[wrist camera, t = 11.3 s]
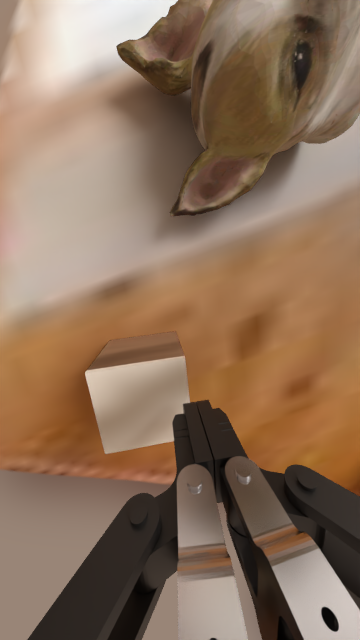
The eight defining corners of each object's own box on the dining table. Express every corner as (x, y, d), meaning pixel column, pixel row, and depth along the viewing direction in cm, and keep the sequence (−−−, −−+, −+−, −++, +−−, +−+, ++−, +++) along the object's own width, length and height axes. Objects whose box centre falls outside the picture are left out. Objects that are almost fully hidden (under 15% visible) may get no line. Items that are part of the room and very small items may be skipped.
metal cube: (185, 357, 11) (175, 330, 17) (84, 372, 11) (110, 339, 17) (193, 437, 13) (182, 387, 19) (105, 454, 12) (121, 397, 18)
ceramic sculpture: (537, 55, 7) (177, 187, 8) (339, 174, 16) (173, 234, 16) (591, -465, 5) (49, -234, 5) (321, 9, 13) (123, 85, 13)
